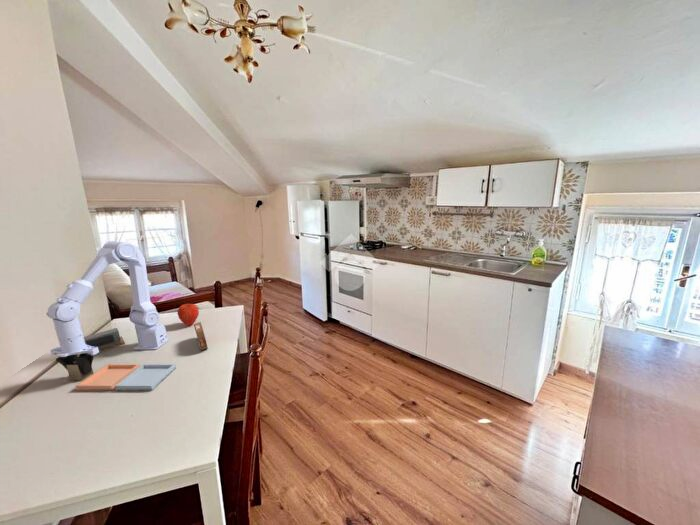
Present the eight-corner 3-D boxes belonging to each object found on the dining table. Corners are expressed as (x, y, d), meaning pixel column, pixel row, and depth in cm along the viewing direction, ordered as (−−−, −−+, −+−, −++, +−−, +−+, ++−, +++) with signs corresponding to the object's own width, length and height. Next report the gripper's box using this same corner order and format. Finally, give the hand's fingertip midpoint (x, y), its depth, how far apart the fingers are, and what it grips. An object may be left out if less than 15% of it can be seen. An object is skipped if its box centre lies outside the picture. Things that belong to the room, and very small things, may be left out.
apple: (203, 320, 136) (200, 300, 133) (195, 328, 127) (191, 307, 125) (185, 321, 135) (182, 301, 133) (176, 329, 127) (172, 307, 125)
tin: (208, 351, 108) (205, 332, 106) (199, 354, 106) (196, 334, 104) (204, 336, 120) (201, 318, 118) (196, 338, 119) (193, 320, 117)
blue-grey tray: (176, 368, 97) (175, 363, 97) (152, 390, 86) (151, 385, 86) (144, 368, 98) (143, 363, 98) (116, 390, 87) (115, 385, 86)
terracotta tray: (140, 368, 98) (139, 363, 98) (112, 390, 87) (110, 385, 86) (109, 368, 98) (108, 364, 98) (77, 390, 87) (75, 385, 87)
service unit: (125, 343, 115) (121, 330, 114) (79, 358, 106) (75, 344, 104) (122, 338, 120) (119, 325, 119) (77, 351, 110) (74, 338, 109)
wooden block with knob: (93, 373, 96) (88, 356, 94) (82, 380, 92) (77, 363, 90) (82, 373, 96) (77, 356, 94) (70, 380, 92) (65, 363, 91)
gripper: (35, 343, 87) (47, 380, 90) (79, 342, 86) (90, 380, 89) (59, 332, 94) (69, 367, 97) (100, 332, 93) (109, 367, 96)
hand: (81, 372), depth 94 cm, fingers closed on wooden block with knob, 4 cm apart
